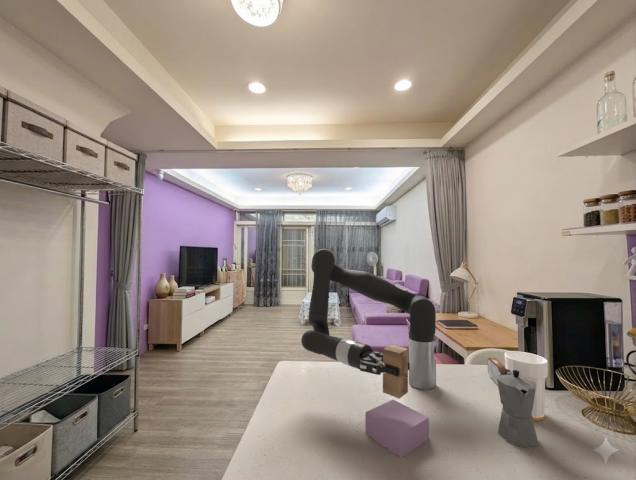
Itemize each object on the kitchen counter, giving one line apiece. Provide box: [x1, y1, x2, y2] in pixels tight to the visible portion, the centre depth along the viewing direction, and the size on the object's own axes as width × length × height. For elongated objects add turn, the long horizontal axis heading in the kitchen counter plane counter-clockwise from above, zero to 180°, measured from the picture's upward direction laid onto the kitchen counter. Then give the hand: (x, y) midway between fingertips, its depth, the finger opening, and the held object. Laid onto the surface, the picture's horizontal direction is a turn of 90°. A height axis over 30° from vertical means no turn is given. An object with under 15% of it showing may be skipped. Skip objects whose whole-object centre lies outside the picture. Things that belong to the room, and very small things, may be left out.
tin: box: [486, 357, 507, 386], centre depth 113 cm, size 15×3×8 cm, turn 168°
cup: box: [504, 350, 549, 422], centre depth 93 cm, size 11×11×17 cm
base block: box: [365, 399, 430, 458], centre depth 80 cm, size 12×12×6 cm
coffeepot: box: [497, 369, 538, 448], centre depth 81 cm, size 15×9×18 cm, turn 162°
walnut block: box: [382, 344, 409, 399], centre depth 81 cm, size 5×5×12 cm
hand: (404, 369), depth 80 cm, fingers closed on walnut block, 5 cm apart
